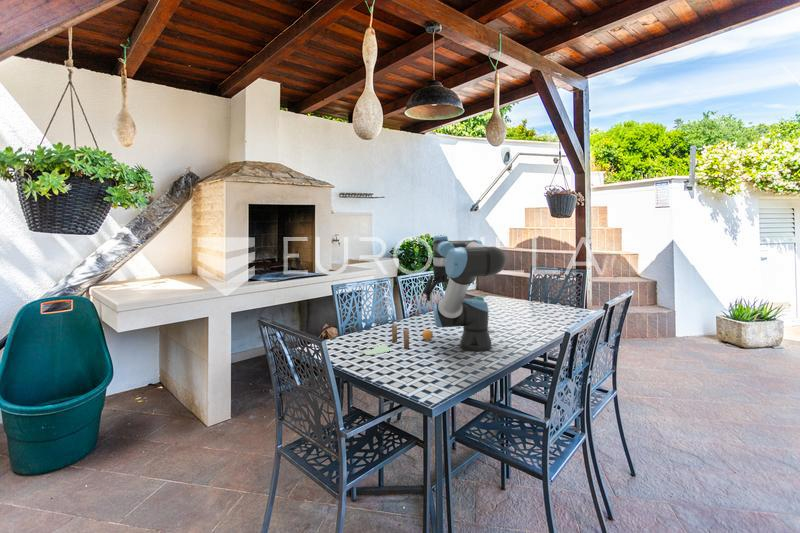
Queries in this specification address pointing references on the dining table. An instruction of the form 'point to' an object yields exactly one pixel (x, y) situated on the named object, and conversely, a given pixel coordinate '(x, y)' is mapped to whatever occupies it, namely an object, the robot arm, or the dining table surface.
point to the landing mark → (378, 350)
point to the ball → (427, 334)
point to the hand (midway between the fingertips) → (440, 304)
